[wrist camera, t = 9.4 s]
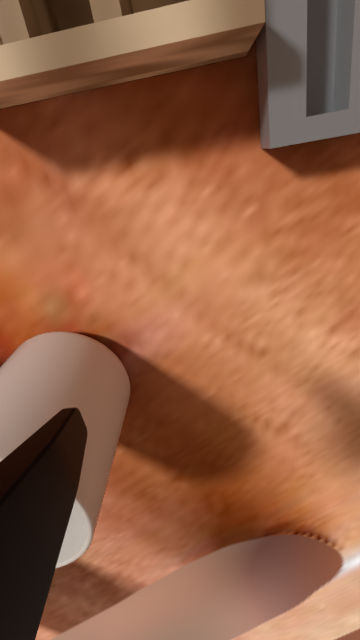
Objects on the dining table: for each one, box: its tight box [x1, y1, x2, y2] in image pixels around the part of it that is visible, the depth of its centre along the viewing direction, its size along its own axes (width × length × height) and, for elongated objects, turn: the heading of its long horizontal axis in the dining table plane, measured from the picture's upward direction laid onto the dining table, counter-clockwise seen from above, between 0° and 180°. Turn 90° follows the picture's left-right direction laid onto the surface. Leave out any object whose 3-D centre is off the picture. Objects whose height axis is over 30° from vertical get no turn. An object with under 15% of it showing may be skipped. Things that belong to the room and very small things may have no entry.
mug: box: [0, 331, 130, 569], centre depth 20 cm, size 12×9×11 cm
